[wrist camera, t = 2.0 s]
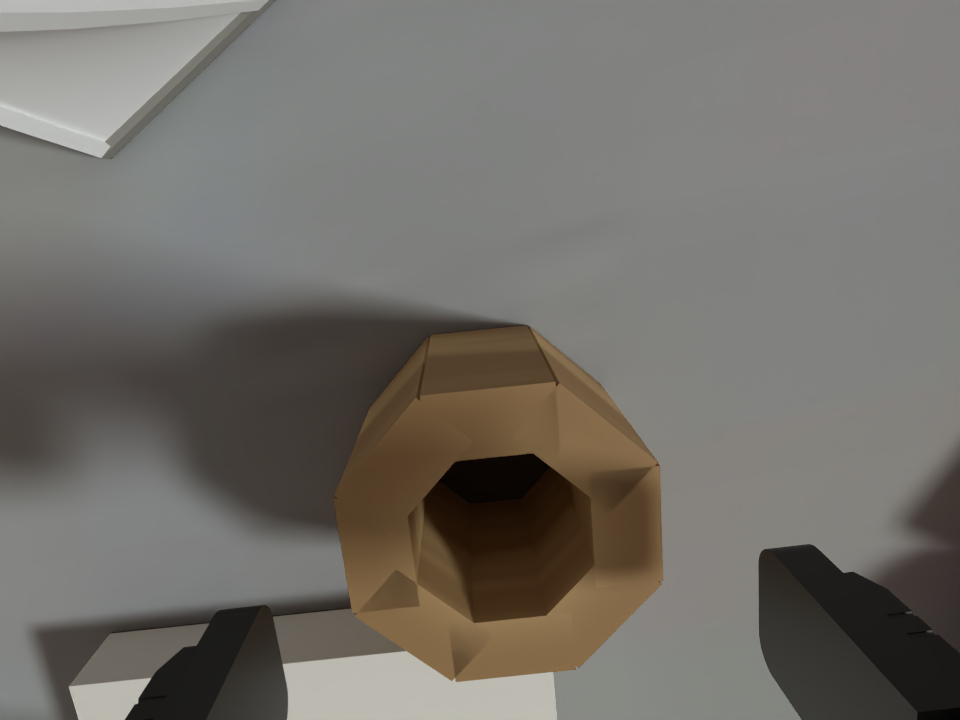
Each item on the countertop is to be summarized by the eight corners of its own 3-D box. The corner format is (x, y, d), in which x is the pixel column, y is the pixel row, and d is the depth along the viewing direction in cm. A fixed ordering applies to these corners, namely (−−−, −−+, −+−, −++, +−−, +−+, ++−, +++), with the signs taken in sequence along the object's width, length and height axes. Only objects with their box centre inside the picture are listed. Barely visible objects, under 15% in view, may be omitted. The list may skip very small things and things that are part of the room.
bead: (359, 342, 16) (317, 406, 12) (598, 317, 16) (657, 371, 12) (390, 555, 18) (365, 691, 13) (609, 532, 18) (665, 660, 13)
